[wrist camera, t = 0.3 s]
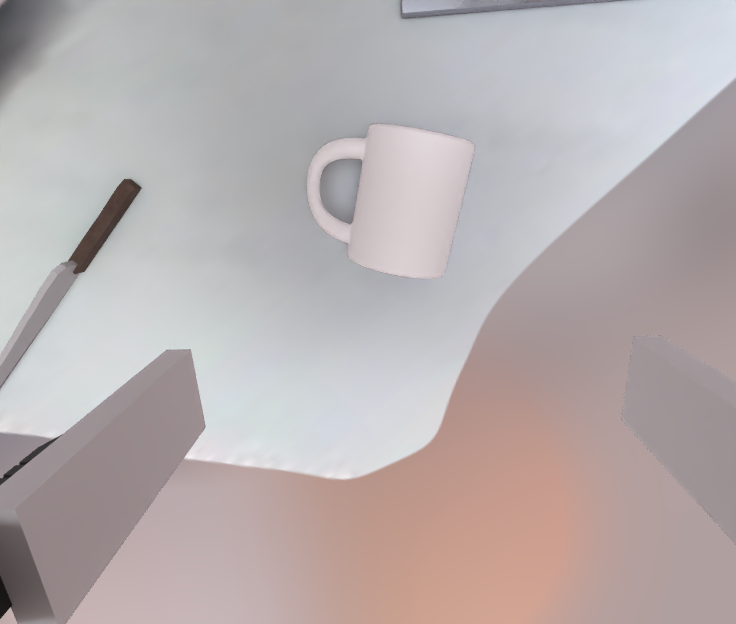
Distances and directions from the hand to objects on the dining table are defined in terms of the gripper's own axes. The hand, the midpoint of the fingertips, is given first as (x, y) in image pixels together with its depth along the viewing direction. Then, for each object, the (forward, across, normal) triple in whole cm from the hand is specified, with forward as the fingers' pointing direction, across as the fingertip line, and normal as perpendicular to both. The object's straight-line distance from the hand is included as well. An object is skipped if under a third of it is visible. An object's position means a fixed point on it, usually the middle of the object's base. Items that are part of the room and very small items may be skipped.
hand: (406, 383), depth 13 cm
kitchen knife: (+27, -33, -5) cm, 43 cm away
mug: (+27, -1, +4) cm, 28 cm away
